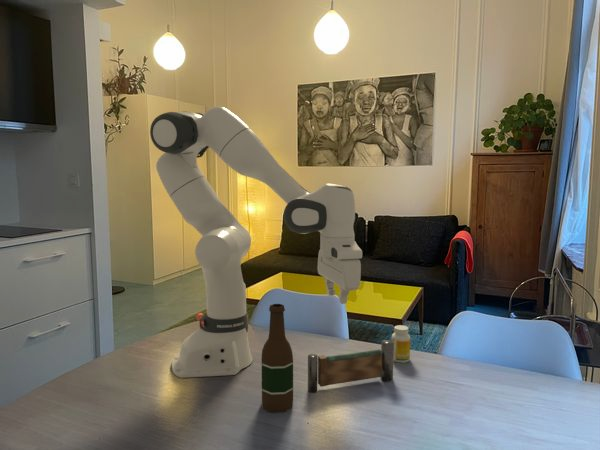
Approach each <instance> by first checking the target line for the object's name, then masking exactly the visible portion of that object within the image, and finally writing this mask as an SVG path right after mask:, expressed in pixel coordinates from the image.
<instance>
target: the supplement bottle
mask: <svg viewBox="0 0 600 450" xmlns="http://www.w3.org/2000/svg"><path fill="white" fill-rule="evenodd" d="M393 331H394V332H393V333H392V334H391V340H390V341H393V342H394V359H393V362H396V363H403V364H404V363H408V362H409V361H410V358H411V336H410V334H409V332H410V331H409V327H408V326H407V325H404V324H403V325H401V324H399V325H395V326H394V329H393Z"/></svg>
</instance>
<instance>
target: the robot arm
mask: <svg viewBox="0 0 600 450" xmlns="http://www.w3.org/2000/svg"><path fill="white" fill-rule="evenodd" d="M149 134H150V139H151V141H152V143H153V145H154V147H156V148H157V149H158V150H160V151H161V152H163V153H162V155H160V157H159V158H158V159H157V162H156V164H155V167H156V172H157V173H158V176H159V179H160V180H161V183H162V185H163V187H164V189H165V190H166V192H167V194H168V195H169V197H170V199H171V200H172V203H174V205H175V207H176V209H177V210H178V212H179V214H180V215H181V216H182V218H183V219H184V221H185V222H186V223H187V224H189V225H190V226H192V227H193V229H195V230H196V231H197V232H198V233H199V234H200V235H201V236H202V237H200V239H199V241H198V242H197V244H196V246H195V250H194V253H195V258H196V261H197V263H198V264H199V265H200V267H201V271H202V275H203V279H204V284H205V293H206V294H205V295H206V300H205V301H206V313H205V314H203V313H202V312H199V313H197V314H196V319H197V321H198V322H199V323H198V324H199V328H198V329H196V330H195V331H194V332H193V333H191V334H189V336H188V337H186V338H184V340H183V341H182V342H181V343H182V344H181V345H180V346H181V347H180V351H179V354H177V355H175V356H174V357H173V359H172V361H171V371H172V372H173V374H174V375H175V376H176V377H178V378H180V379H181V378H199V377H218V376H219V377H221V376H222V377H223V376H234V375H237V374H238V373H239V372H240V371H241V370H242V369H244V368H247V367H249V365H251V364H252V363H253V356H252V352H251V350H250V343H249V339H248V338H249V337H248V331H249V315H248V312H247V287H246V286H247V285H246V283H245V282H244V278H243V273H242V267H241V265H242V264H241V263H242V262H241V260H242V259H243V258H244V257H245V256H246V255H247V254H248V253H249V250H250V249H251V245H252V236H251V234H250V232H249V230H248V229H246V227H244V225H242V224H241V223H240V222H239V221H238V219H237V218H236V217H235V216H234V214H233V213H232V212H231V211H230V210H229V208H227V207H226V206H225V204H224V203H223V202H222V201H221V200H220V198H219V197H218V194H217V193H216V191H215V190H214V189H213V187H212V186H211V184H210V182H209V180H208V179H207V178H206V176H205V175H204V172H203V171H202V170H201V168H200V167H199V164H198V162H197V159H198V158H202V157H203V156H204V154H205V153H206V151H207V150H208V149H209V148H210V149H211V150H213V151H214V153H215V154H216V155H217V156H218V157H219V158H220V159H221V160H222V161H223V162H224V163H225V164H226V165H227V166H228V167H229V168H231V169H232V170H233V171H235V172H236V173H238V174H239V175H241V176H244V177H248V178H251V179H254V180H257V181H259V182H261V183H263V184H265V185H267V187H269V188H270V189H271V190H272V191H273V192H274V193H276V194H277V196H279V197H280V199H282V201H284V202H285V204H286V206H285V208H284V210H283V221H284V224H285V225H286V227H287V228H288V229H289V230H290V231H291V232H294V233H295V234H300V235H306V234H309V233H315V232H319V233H320V235H319V237H320V240H319V241H320V243H319V248H320V249H319V250H318V257H317V268H316V269H317V274H318V275H320V276H321V277H324V283H325V286H326V295H327V296H331V297H332V296H335V295H336V289H335V285H336V286H338V288H339V291H340V292H339V295H337V296H338V297H337V298H338V300H337V301H338V302H339V303H340V304H342V305H345V304H347V302H348V296H349V294H350V291H357V290H358V289H359V287H360V285H361V277H362V276H361V274H362V273H361V272H362V270H361V269H362V264H361V263H362V262H361V260H360V259H362V258H363V250H362V249H361V248H360V247H359V245H358V244H357V242H356V241H355V238H356V237H355V235H356V234H355V231H354V230H355V229H354V225H355V224H354V223H355V221H356V204H355V202H356V200H355V194H354V192H353V190H352V189H351V188H350V187H348V186H346V185H343V184H338V183H330V182H329V183H327V182H326V183H324V184H323V185H321V187H319V188H318V189H315V190H314V191H312V192H311V191H308V190H307V189H305V188H304V187H303V186H302V185H300V183H299V182H298V181H296V180H295V178H293V177H292V175H290V174H289V173H288V172H287V171H286V170H285V169H284V168H283V167H282V166H281V165H280V164H279V162H278V161H277V160H276V159H275V157H274V156H273V155H272V153H271V152H270V151H269V149H268V148H267V146H266V145H265V144H264V142H263V141H262V140H261V139H260V137H258V135H257V134H256V133H255V132H254V131H253V129H251V128H250V127H249V125H248V124H246V122H244V121H243V120H242V119H241V118H239V116H237V115H236V114H235V113H233V112H232V111H230V110H229V109H227V108H226V107H223V106H218V105H217V106H214V107H211V108H209V109H208V110H207V111H206V112H204V113H200V112H194V111H193V112H192V111H187V110H186V111H182V110H181V111H175V112H174V111H167V112H163V113H162V114H159V115H158V116H156V117H155V118H154V120H153V121H152V122H151V124H150V130H149Z"/></svg>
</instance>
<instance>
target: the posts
mask: <svg viewBox="0 0 600 450" xmlns="http://www.w3.org/2000/svg"><path fill="white" fill-rule="evenodd" d="M380 347H381V348H380V350H381V352H382V354H381V355H382V364H381V377H380V380H381V381H384V382H392V381H393V380H394V361H393V359H394V342H393V341H391V340H390V339H384V340H381V346H380ZM318 356H319V355H317V353H316V354H315V353H310V354H308V355H307V392H309V393H311V394H314V393H318Z"/></svg>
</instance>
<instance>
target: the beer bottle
mask: <svg viewBox="0 0 600 450" xmlns="http://www.w3.org/2000/svg"><path fill="white" fill-rule="evenodd" d="M285 309H286V308H285V305H284V304H281V303H273V304H270V305H269V308H268V311H269V313H270V314H269V331H268V338H267V339H266V341H265V343H264V344H263V347H262V349H261V407H262V409H263V410H265V411H267V412H270V413H272V414H273V413H285V412H287V411H289V410H291V409H292V408H293V406H294V405H293V404H294V357H293V350H292V347H291V346H292V345H291V343H290V342H289V341H288V339H287V337H286V333H285V332H286V330H285V329H286V327H285V315H284V312H285V311H286V310H285Z"/></svg>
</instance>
